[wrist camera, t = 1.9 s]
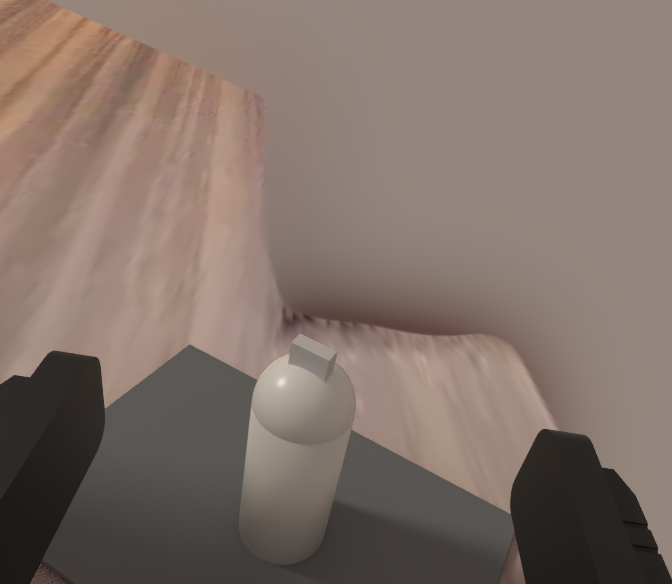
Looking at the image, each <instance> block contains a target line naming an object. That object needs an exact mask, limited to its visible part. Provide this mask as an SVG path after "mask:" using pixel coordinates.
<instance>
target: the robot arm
mask: <svg viewBox="0 0 672 584" xmlns="http://www.w3.org/2000/svg"><path fill="white" fill-rule="evenodd" d="M104 427H105V408H104V398H103V387H102V376H101V366H100V362H99V359H98V358H97V357H92V356H86V355H79V354H73V353H67V352H60V351H52V352H50V353H49V354H47V356H46V357H45V358H44V359H43V361H42V362H41V363H40V365H39V366H38V368H37V369H36V370H35V372H34V373H33V374H32V376H31V377H23V376H17V375H14V376H12V377H11V378H9V379H8V380H6V381H5V382H3V383H2V384H0V584H30V582H31V580H32V578H33V576H34V574H35V572H36V570H37V569H38V567H39V565H40V563H41V561H42V559H43V557H44V555H45V553H46V551H47V549H48V547H49V545H50V543H51V541H52V539H53V537H54V535H55V533H56V531H57V529H58V528H59V526H60V524H61V522H62V520H63V518H64V516H65V514H66V512H67V510H68V508H69V506H70V504H71V502H72V500H73V498H74V496H75V494H76V492H77V490H78V488H79V486H80V485H81V483H82V481H83V479H84V477H85V475H86V473H87V471H88V469H89V467H90V465H91V463H92V461H93V459H94V457H95V455H96V453H97V451H98V449H99V446H100V444H101V441H102V437H103V433H104ZM510 509H511V517H512V522H513V526H514V531H515V535H516V540H517V545H518V549H519V554H520V559H521V563H522V568H523V573H524V577H525V582H526V584H672V579H671V577H670V574H669V572H668V570H667V567H666V565H665V563H664V560H663V558H662V556H661V554H658V546H657V544H656V542H655V540H654V537H653V535H652V532H651V530H648V528H647V526H648V523H647V521H646V519H645V516H644V514H643V512H642V509H641V507H640V505H639V502H638V500H637V498H636V496H635V495H634V493H633V492H632V491H631V490H630V488H629V487H628V486H627V485H626V484H625V482H624V481H623V480H622V479H621V478H620V476H619V475H618V474H617V473H616V472H615V470H613V469H608V468H602V467H601V465H600V462H599V459H598V457H597V454H596V452H595V449H594V447H593V444H592V442H591V440H590V439H589V438H588V437H587V436H585V435H581V434H574V433H568V432H562V431H555V430H549V429H543V430H541V431H540V432H539V433H538V435H537V437H536V439H535V441H534V443H533V445H532V447H531V449H530V450H529V452H528V454H527V456H526V458H525V460H524V462H523V464H522V466H521V468H520V470H519V472H518V474H517V476H516V478H515V480H514V483H513V486H512V491H511V499H510Z"/></svg>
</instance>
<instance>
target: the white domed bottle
mask: <svg viewBox="0 0 672 584" xmlns="http://www.w3.org/2000/svg"><path fill="white" fill-rule="evenodd" d="M336 356H337V352H336V351H334V350H332V349H330V348H328V347H326V346H324V345H322V344H320V343H318V342H316V341H314V340H312V339H310V338H308V337H306V336H303V335H301V334H300V335H298V336H297V337H296V338H295V339H294V340H293V341H292V342H291V348H290V354H287V355H284V356H282V357H280V358H278V359H277V360H275V361H274V362H272V363H271V364H270V365H269V366H268V367H267V368H266V369H265V370H264V371H263V373H262V374H261V376H260V377H259V379H258V381H257V383H256V385H255V388H254V391H253V396H252V403H251V412H250V421H249V431H248V440H247V449H246V458H245V468H244V477H243V486H242V495H241V504H240V514H239V533H240V536H241V539H242V541H243V543H244V544H245V546H246V547H247V549H248V550H249V551H250V552H251V553H252V554H253V555H255V556H256V557H258V558H259V559H261V560H263V561H266V562H268V563H272V564H277V565H289V564H295V563H298V562H301V561H303V560H305V559H307V558H308V557H310V556H311V555H312V554H314V553H315V552H316V551H317V549H318V548H319V547H320V545H321V543H322V541H323V538H324V535H325V531H326V527H327V523H328V519H329V515H330V511H331V508H332V504H333V500H334V496H335V492H336V488H337V484H338V480H339V476H340V472H341V468H342V464H343V460H344V456H345V452H346V448H347V444H348V440H349V437H350V433H351V429H352V425H353V421H354V416H355V411H356V397H355V391H354V388H353V385H352V383H351V380H350V378H349V377H348V375H347V374H346V372H345V371H344V370H343V368H342V367H341V366H340V365H338V364H337V363H336V362H335V360H336Z"/></svg>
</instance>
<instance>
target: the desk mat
mask: <svg viewBox="0 0 672 584" xmlns="http://www.w3.org/2000/svg"><path fill="white" fill-rule="evenodd" d="M257 381H258V380H256V379H254V378H252V377H250V376H248V375H246V374H245V373H243V372H241V371H239V370H237V369H235V368H233V367H231V366H229V365H228V364H226V363H224V362H222V361H220V360H218V359H216V358H214V357H212V356H211V355H209V354H207V353H205V352H203V351H201V350H199V349H197V348H195V347H194V346H192V345H189V346H187V347H186V348H185V349H183V350H182V351H181V352H179V353H178V354H177V355H175V356H174V357H173V358H171V359H170V360H169V361H168V362H166V363H165V364H164V365H162V366H161V367H160V368H158V369H157V370H156V371H154V372H153V373H152V374H150V375H149V376H148V377H146V378H145V379H144V380H143V381H141V382H140V383H139V384H137V385H136V386H135V387H133V388H132V389H131V390H129V391H128V392H127V393H125V394H124V395H123V396H122V397H120V398H119V399H118V400H116V401H115V402H114V403H112V404H111V405H110V406H108V407H107V408H106V409H105V427H104V433H103V437H102V441H101V444H100V446H99V449H98V451H97V453H96V455H95V457H94V459H93V461H92V463H91V465H90V467H89V469H88V471H87V473H86V475H85V477H84V479H83V481H82V483H81V485H80V486H79V488H78V490H77V492H76V494H75V496H74V498H73V500H72V502H71V504H70V506H69V508H68V510H67V512H66V514H65V516H64V518H63V520H62V522H61V524H60V526H59V528H58V529H57V531H56V533H55V535H54V537H53V539H52V541H51V543H50V545H49V547H48V549H47V551H46V553H45V555H44V557H43V559H42V561H41V562H42V563H43V564H45V565H46V566H47V567H49V568H50V569H51V570H53V571H54V572H55V573H56V574H58V575H59V576H60V577H62V578H63V579H64V580H66V581H67V582H68V583H70V584H498V582H499V579H500V576H501V572H502V569H503V566H504V563H505V560H506V557H507V554H508V551H509V548H510V545H511V542H512V539H513V535H514V532H515V531H514V526H513V522H512V517H511V514H509V513H507V512H505V511H503V510H502V509H500V508H498V507H496V506H494V505H492V504H490V503H488V502H486V501H485V500H483V499H481V498H479V497H477V496H475V495H473V494H471V493H469V492H468V491H466V490H464V489H462V488H460V487H458V486H456V485H454V484H452V483H451V482H449V481H447V480H445V479H443V478H441V477H439V476H437V475H435V474H434V473H432V472H430V471H428V470H426V469H424V468H422V467H420V466H418V465H417V464H415V463H413V462H411V461H409V460H407V459H405V458H403V457H401V456H400V455H398V454H396V453H394V452H392V451H390V450H388V449H386V448H384V447H383V446H381V445H379V444H377V443H375V442H373V441H371V440H369V439H367V438H366V437H364V436H362V435H360V434H358V433H356V432H354V431H352V430H351V433H350V437H349V440H348V444H347V448H346V452H345V456H344V460H343V464H342V468H341V472H340V476H339V480H338V484H337V488H336V492H335V496H334V500H333V504H332V508H331V511H330V515H329V519H328V523H327V527H326V531H325V535H324V538H323V541H322V543H321V545H320V547H319V548H318V549H317V551H316V552H315V553H314V554H312V555H311V556H310V557H308V558H307V559H305V560H303V561H301V562H298V563H295V564H289V565H277V564H272V563H268V562H266V561H263V560H261V559H259V558H258V557H256V556H255V555H253V554H252V553H251V552H250V551H249V550H248V549H247V547H246V546H245V544H244V543H243V541H242V539H241V536H240V533H239V514H240V504H241V495H242V486H243V477H244V468H245V458H246V449H247V440H248V431H249V421H250V412H251V403H252V396H253V391H254V388H255V385H256V383H257Z"/></svg>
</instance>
